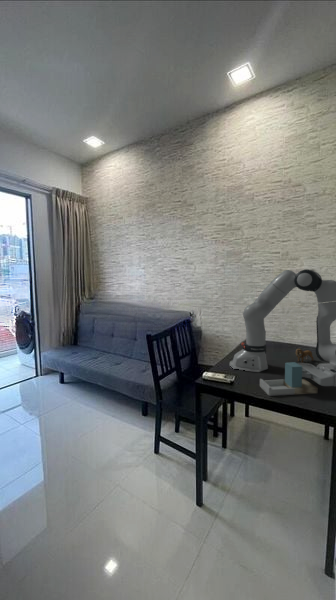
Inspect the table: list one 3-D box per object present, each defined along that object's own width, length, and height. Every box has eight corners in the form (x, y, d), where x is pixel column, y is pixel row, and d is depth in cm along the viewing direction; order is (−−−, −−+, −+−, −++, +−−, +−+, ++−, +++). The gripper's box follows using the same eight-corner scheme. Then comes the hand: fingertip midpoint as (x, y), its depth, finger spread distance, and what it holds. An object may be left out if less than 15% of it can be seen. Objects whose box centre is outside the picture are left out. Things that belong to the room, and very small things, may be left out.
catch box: (283, 385, 127) (283, 377, 127) (294, 394, 118) (294, 386, 117) (259, 386, 127) (259, 378, 126) (269, 395, 117) (269, 387, 116)
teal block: (294, 381, 125) (294, 362, 124) (301, 386, 120) (302, 366, 119) (284, 382, 125) (285, 362, 124) (291, 387, 119) (292, 367, 118)
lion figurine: (300, 364, 155) (300, 350, 154) (292, 361, 160) (293, 348, 159) (315, 360, 162) (316, 346, 161) (308, 358, 166) (308, 344, 165)
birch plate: (304, 383, 128) (304, 379, 128) (317, 393, 118) (317, 387, 118) (283, 385, 127) (283, 380, 127) (294, 394, 118) (295, 389, 117)
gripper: (311, 359, 133) (286, 360, 132) (341, 374, 113) (311, 376, 112) (311, 370, 134) (286, 372, 133) (340, 388, 114) (311, 389, 112)
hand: (298, 374), depth 122 cm, fingers closed, pressing on teal block
